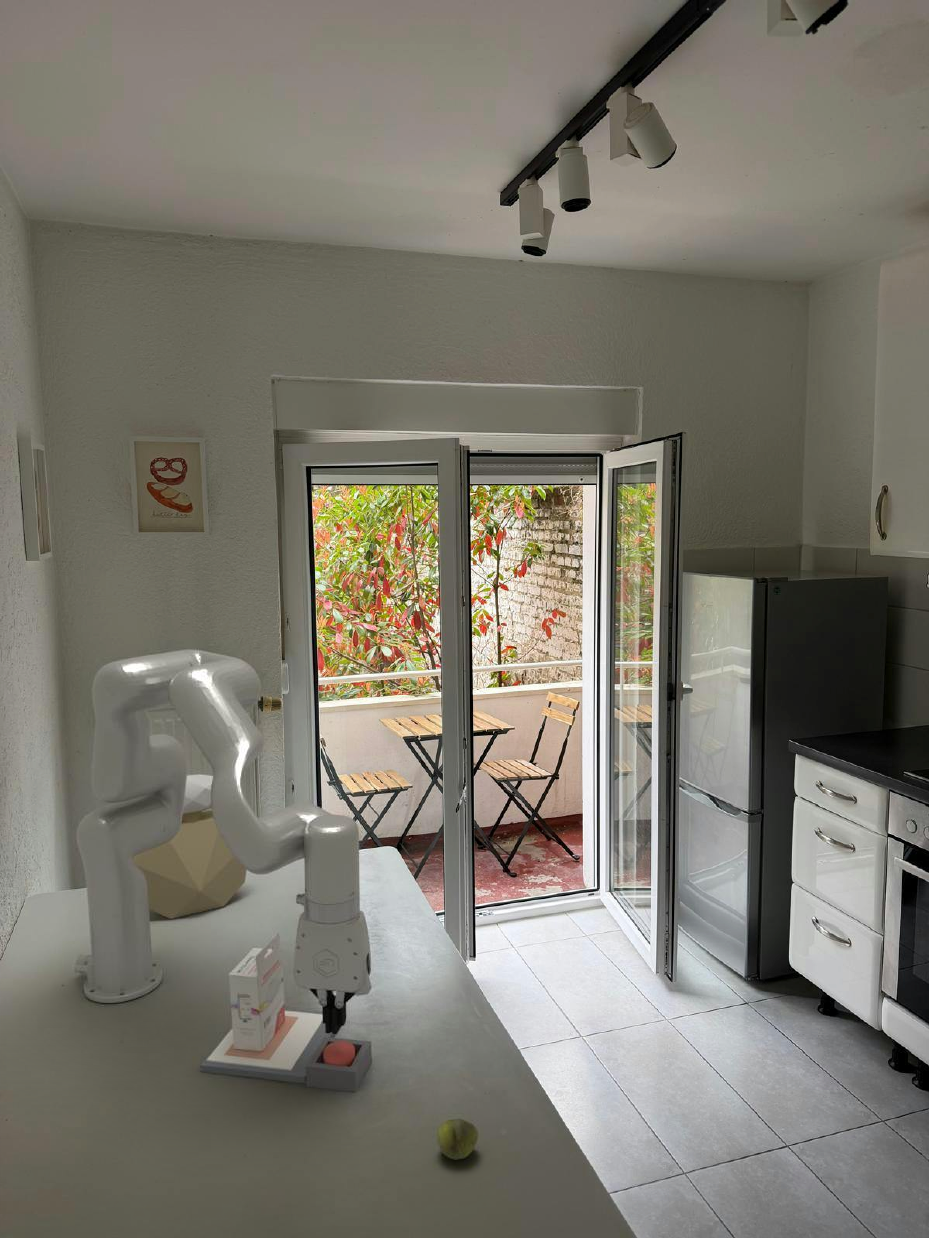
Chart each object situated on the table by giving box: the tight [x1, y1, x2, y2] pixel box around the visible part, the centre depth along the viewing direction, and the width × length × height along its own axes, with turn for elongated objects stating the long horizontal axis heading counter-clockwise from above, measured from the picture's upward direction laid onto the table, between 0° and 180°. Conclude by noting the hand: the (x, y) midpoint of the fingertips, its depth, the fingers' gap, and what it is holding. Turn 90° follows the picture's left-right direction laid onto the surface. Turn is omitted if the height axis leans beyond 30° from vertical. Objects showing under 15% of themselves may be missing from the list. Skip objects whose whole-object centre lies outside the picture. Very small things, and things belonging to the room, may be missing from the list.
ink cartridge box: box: [228, 932, 286, 1051], centre depth 131 cm, size 9×5×15 cm, turn 168°
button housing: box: [306, 1037, 373, 1093], centre depth 124 cm, size 7×7×3 cm
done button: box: [323, 1041, 355, 1067], centre depth 124 cm, size 4×4×3 cm
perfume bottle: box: [133, 773, 247, 920], centre depth 178 cm, size 12×24×28 cm, turn 121°
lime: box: [436, 1118, 479, 1161], centre depth 107 cm, size 4×5×5 cm
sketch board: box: [199, 1007, 336, 1085], centre depth 131 cm, size 16×16×1 cm
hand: (334, 1027), depth 124 cm, fingers closed
